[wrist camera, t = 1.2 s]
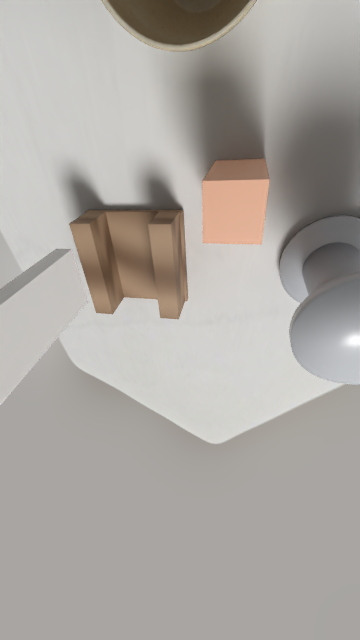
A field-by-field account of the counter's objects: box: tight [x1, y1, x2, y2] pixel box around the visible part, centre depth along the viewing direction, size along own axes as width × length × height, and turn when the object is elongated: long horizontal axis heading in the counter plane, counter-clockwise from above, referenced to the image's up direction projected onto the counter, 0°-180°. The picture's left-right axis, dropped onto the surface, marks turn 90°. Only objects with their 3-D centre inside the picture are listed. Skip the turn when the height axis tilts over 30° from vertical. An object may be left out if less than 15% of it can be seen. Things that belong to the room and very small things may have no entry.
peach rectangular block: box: [202, 159, 270, 244], centre depth 21 cm, size 4×4×8 cm
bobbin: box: [279, 215, 360, 384], centre depth 22 cm, size 9×9×11 cm
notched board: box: [69, 210, 188, 319], centre depth 29 cm, size 10×10×4 cm
